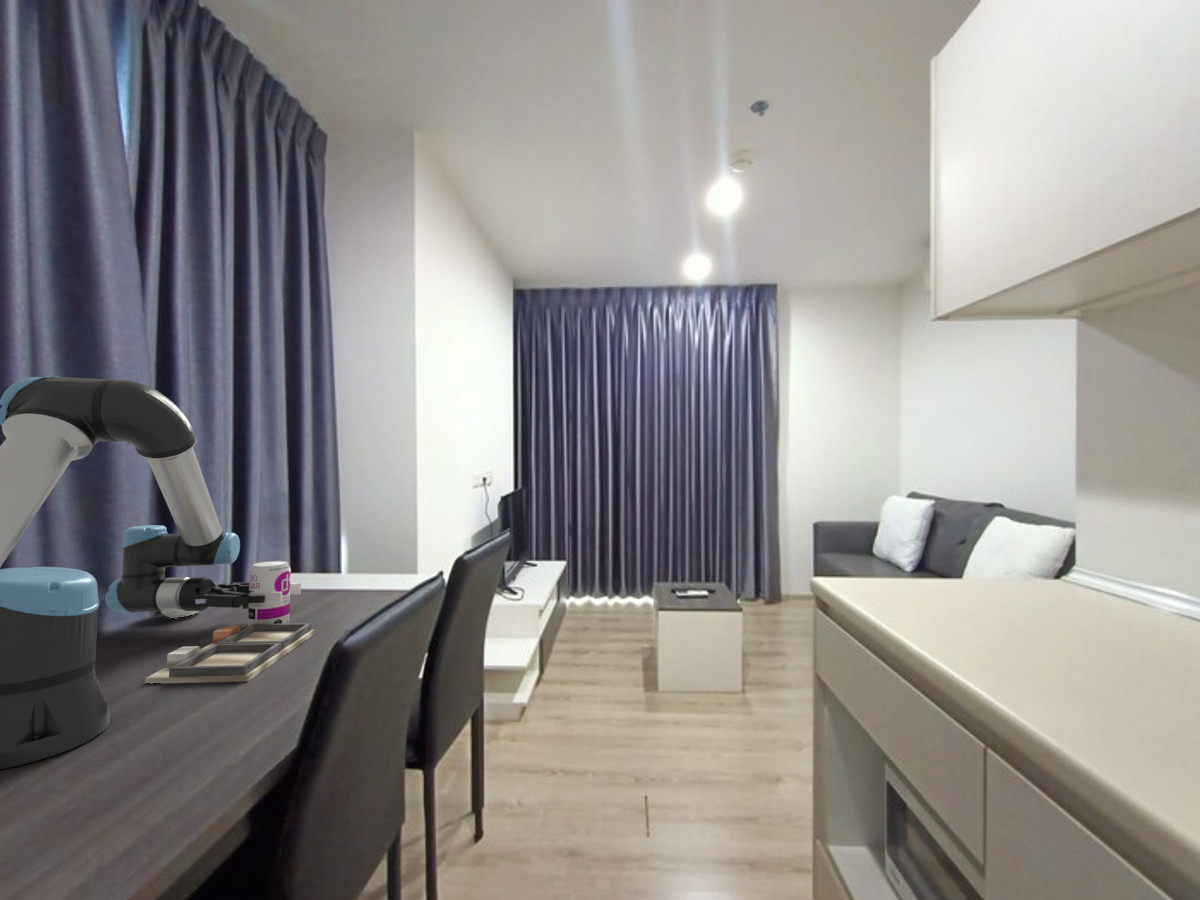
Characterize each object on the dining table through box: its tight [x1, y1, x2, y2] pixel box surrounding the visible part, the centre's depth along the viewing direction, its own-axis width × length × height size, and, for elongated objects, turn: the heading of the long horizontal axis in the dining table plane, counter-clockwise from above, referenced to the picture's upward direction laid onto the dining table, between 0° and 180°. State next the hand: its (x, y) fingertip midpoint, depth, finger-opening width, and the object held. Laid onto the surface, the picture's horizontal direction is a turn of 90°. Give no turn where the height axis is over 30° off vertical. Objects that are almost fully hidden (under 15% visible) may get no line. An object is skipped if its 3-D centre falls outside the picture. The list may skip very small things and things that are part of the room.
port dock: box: [144, 622, 316, 685], centre depth 105 cm, size 26×17×4 cm, turn 5°
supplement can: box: [247, 560, 292, 627], centre depth 123 cm, size 8×8×15 cm
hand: (291, 593), depth 123 cm, fingers closed on supplement can, 8 cm apart
